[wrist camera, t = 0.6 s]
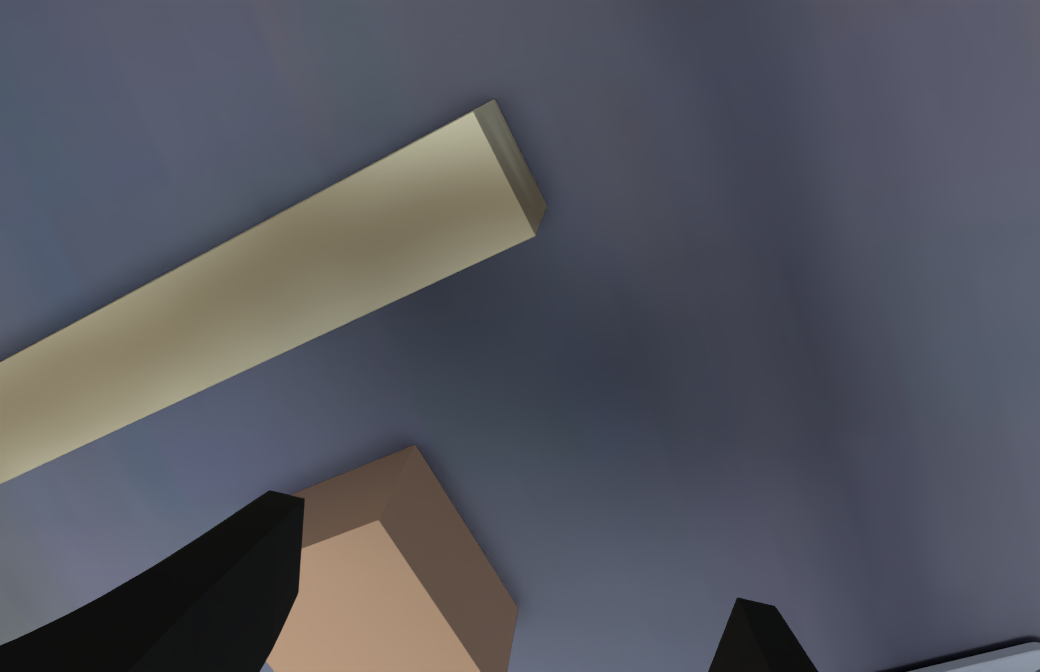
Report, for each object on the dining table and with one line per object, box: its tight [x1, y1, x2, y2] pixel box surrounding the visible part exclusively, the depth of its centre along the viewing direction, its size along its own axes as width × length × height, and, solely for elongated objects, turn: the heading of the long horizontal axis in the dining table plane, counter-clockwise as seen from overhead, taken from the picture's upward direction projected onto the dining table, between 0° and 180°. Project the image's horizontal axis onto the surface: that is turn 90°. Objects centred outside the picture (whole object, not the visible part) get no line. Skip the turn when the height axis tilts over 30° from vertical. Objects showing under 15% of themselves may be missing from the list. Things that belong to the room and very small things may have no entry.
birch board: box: [0, 99, 547, 484], centre depth 20 cm, size 3×20×3 cm, turn 117°
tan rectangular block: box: [266, 445, 518, 672], centre depth 23 cm, size 7×6×4 cm
